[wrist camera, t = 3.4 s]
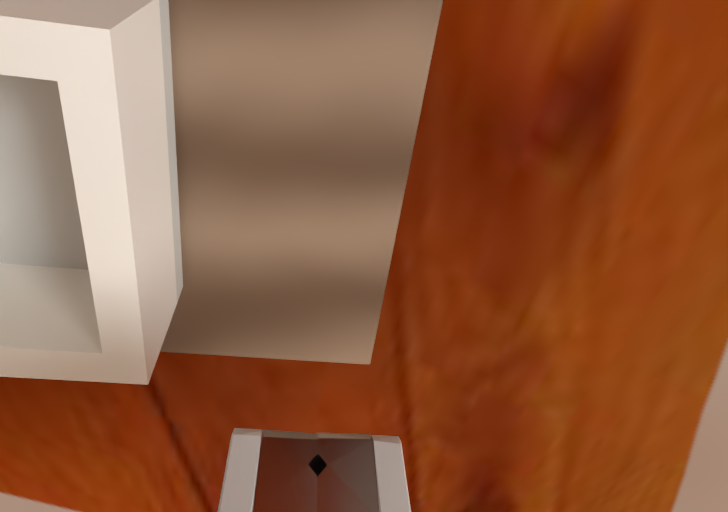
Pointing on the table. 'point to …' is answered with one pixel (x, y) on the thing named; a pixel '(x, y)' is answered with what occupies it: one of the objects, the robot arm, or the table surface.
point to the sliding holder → (87, 189)
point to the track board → (292, 169)
